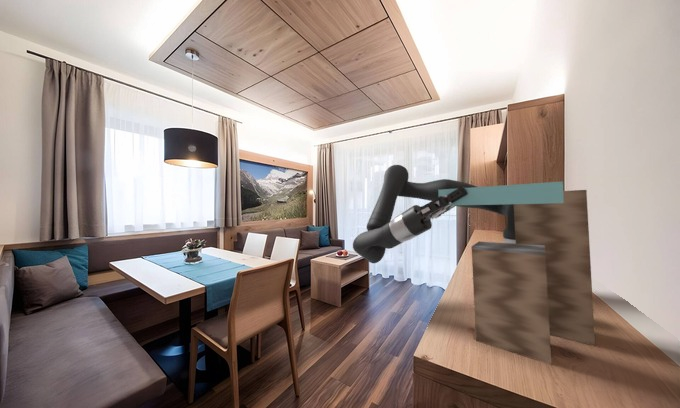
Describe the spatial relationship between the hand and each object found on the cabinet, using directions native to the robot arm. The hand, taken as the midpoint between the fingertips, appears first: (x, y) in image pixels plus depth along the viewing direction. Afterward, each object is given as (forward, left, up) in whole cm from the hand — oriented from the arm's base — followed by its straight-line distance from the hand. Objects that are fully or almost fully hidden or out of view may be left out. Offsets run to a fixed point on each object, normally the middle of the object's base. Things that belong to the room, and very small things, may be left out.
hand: (467, 190), depth 53 cm
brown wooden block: (-4, +6, -33) cm, 34 cm away
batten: (-2, +4, -4) cm, 6 cm away
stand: (-17, +6, -33) cm, 38 cm away
